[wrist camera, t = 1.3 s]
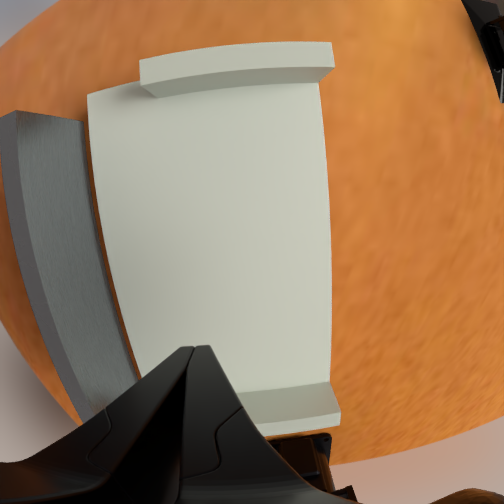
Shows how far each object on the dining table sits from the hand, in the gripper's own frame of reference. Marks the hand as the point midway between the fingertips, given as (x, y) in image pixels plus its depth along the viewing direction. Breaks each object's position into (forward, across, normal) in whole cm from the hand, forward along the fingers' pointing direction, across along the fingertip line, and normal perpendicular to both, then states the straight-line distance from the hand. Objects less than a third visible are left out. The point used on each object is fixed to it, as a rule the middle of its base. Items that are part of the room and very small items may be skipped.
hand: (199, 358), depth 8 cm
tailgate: (+8, +6, 0) cm, 10 cm away
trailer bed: (+11, 0, 0) cm, 11 cm away
